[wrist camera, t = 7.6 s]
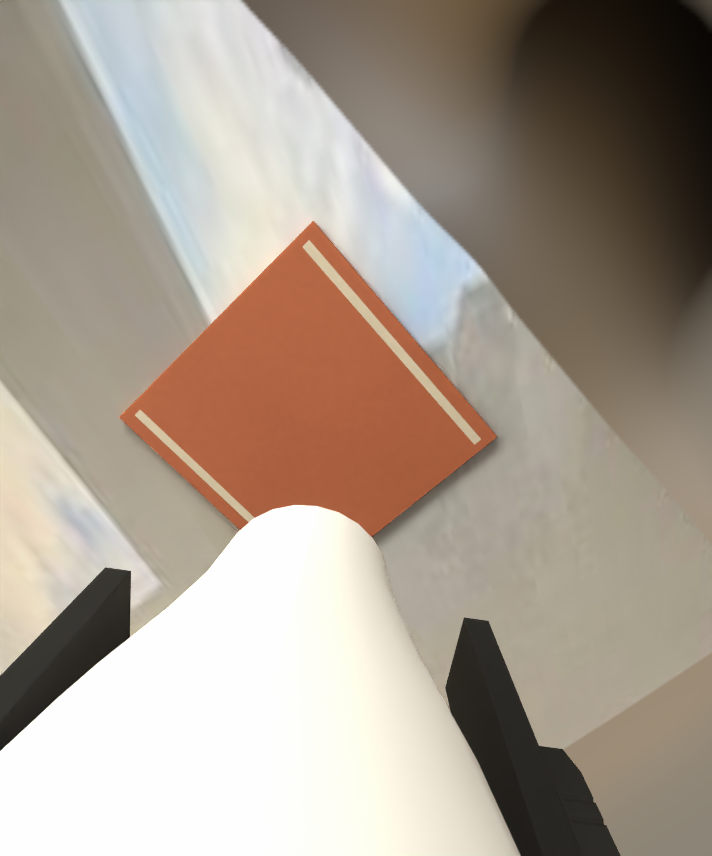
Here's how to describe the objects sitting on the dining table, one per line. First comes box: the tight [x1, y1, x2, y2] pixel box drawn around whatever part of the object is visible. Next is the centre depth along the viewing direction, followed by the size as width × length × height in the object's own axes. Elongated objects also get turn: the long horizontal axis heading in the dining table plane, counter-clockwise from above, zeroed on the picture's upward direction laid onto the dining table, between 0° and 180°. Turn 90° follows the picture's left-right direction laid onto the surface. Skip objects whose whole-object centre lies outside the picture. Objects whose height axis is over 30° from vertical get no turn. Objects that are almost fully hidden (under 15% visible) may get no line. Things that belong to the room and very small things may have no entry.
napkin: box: [119, 221, 497, 537], centre depth 29 cm, size 18×18×1 cm
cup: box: [0, 505, 521, 856], centre depth 10 cm, size 10×10×14 cm
